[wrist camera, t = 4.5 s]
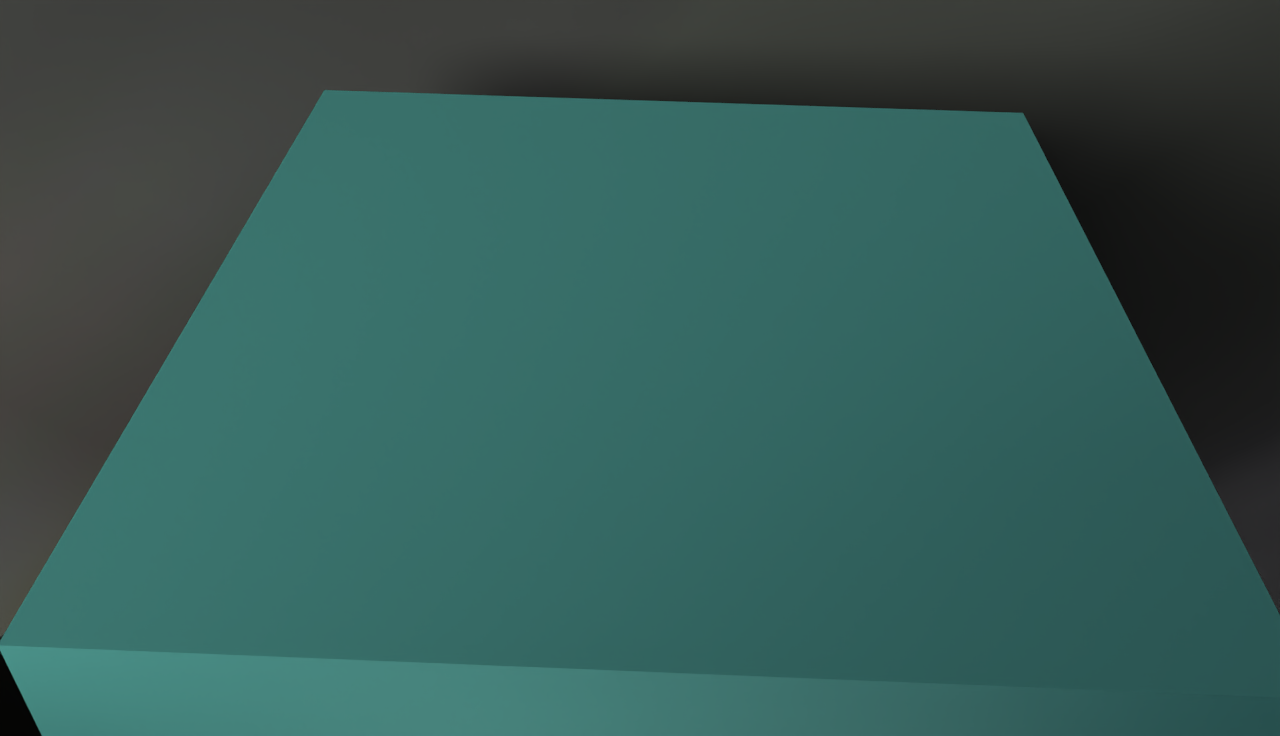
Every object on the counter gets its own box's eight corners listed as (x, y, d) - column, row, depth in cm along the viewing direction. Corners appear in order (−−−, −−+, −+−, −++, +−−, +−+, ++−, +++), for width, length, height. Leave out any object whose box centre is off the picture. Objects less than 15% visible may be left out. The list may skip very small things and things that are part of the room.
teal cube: (1023, 112, 8) (1324, 699, 4) (910, 587, 11) (1025, 1184, 7) (324, 90, 8) (-1, 643, 4) (399, 567, 11) (244, 1147, 8)
